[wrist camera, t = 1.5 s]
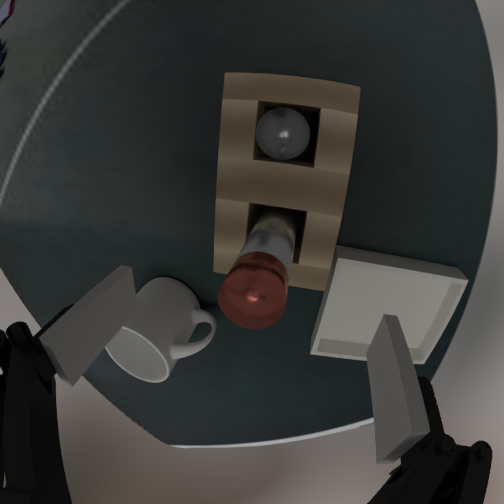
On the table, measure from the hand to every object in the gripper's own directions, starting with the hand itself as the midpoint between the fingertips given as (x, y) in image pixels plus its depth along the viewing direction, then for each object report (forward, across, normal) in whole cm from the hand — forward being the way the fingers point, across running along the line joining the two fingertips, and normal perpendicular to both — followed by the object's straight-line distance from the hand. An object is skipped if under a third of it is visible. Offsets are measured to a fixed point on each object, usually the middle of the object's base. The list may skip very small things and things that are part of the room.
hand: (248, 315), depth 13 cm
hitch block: (+16, 0, +4) cm, 17 cm away
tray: (+16, +14, -8) cm, 23 cm away
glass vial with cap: (+16, 0, 0) cm, 16 cm away
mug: (+16, -11, -14) cm, 24 cm away
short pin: (+16, 0, +8) cm, 18 cm away
